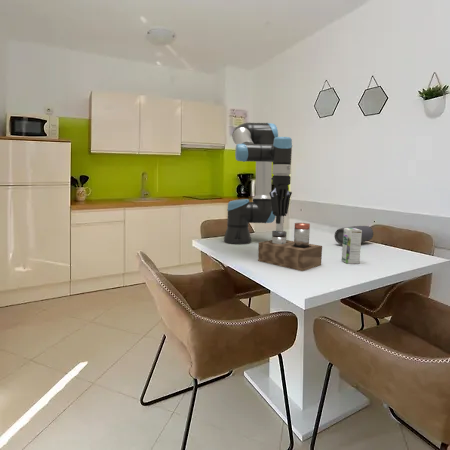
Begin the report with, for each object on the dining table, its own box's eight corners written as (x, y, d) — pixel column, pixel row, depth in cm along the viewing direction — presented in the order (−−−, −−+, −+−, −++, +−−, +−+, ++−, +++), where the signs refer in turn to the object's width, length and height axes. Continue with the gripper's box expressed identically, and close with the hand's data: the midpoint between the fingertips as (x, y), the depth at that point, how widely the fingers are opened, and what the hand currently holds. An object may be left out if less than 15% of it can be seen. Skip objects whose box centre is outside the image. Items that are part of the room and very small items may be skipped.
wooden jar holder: (258, 260, 148) (258, 242, 146) (277, 255, 157) (278, 238, 156) (302, 271, 132) (303, 250, 131) (321, 264, 142) (322, 245, 141)
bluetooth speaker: (359, 241, 199) (360, 224, 198) (373, 243, 191) (375, 226, 190) (332, 244, 187) (333, 226, 185) (347, 247, 179) (348, 228, 178)
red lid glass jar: (290, 247, 140) (291, 223, 139) (298, 246, 144) (299, 222, 143) (303, 250, 136) (304, 225, 134) (311, 248, 140) (312, 223, 139)
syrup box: (340, 260, 150) (343, 227, 148) (354, 260, 151) (356, 227, 149) (346, 263, 145) (348, 229, 143) (360, 263, 145) (362, 229, 143)
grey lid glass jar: (268, 254, 148) (269, 231, 147) (277, 252, 153) (277, 230, 151) (280, 256, 144) (281, 233, 143) (288, 254, 148) (289, 231, 147)
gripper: (279, 174, 137) (277, 233, 140) (297, 175, 146) (295, 230, 149) (264, 174, 142) (262, 231, 145) (283, 175, 151) (281, 228, 154)
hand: (279, 231), depth 147 cm, fingers closed
